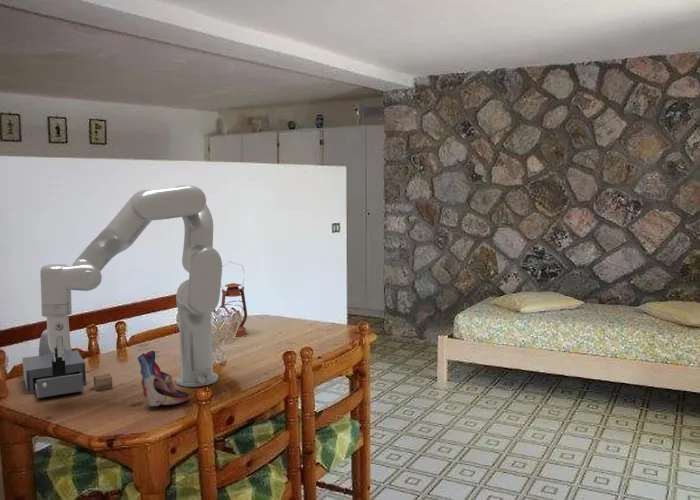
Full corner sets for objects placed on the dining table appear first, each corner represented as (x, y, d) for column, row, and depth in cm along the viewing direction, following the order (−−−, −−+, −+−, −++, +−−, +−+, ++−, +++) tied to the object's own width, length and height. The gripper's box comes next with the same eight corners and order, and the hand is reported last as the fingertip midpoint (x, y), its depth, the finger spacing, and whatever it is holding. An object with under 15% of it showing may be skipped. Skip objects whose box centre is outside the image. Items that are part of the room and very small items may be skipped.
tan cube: (112, 388, 192) (112, 377, 191) (96, 391, 190) (96, 379, 189) (109, 384, 196) (109, 373, 195) (94, 386, 193) (93, 375, 193)
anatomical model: (185, 410, 173) (183, 355, 171) (137, 411, 172) (134, 357, 170) (191, 398, 182) (188, 346, 181) (145, 400, 181) (143, 348, 180)
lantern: (241, 339, 250) (238, 262, 247) (216, 338, 252) (213, 262, 249) (250, 333, 260) (247, 259, 256) (226, 332, 262) (223, 259, 258)
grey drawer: (83, 391, 186) (82, 374, 186) (37, 398, 180) (36, 381, 180) (76, 377, 200) (75, 361, 199) (33, 383, 194) (32, 367, 193)
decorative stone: (45, 373, 208) (42, 328, 206) (34, 370, 211) (31, 326, 210) (75, 365, 217) (73, 321, 216) (64, 362, 220) (62, 319, 219)
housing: (86, 384, 196) (84, 362, 195) (27, 393, 188) (26, 370, 187) (78, 371, 209) (77, 350, 209) (23, 379, 201) (22, 357, 201)
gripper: (75, 312, 172) (77, 379, 173) (68, 304, 185) (70, 366, 186) (44, 315, 168) (46, 383, 170) (39, 306, 181) (41, 369, 183)
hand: (58, 374), depth 178 cm, fingers closed
